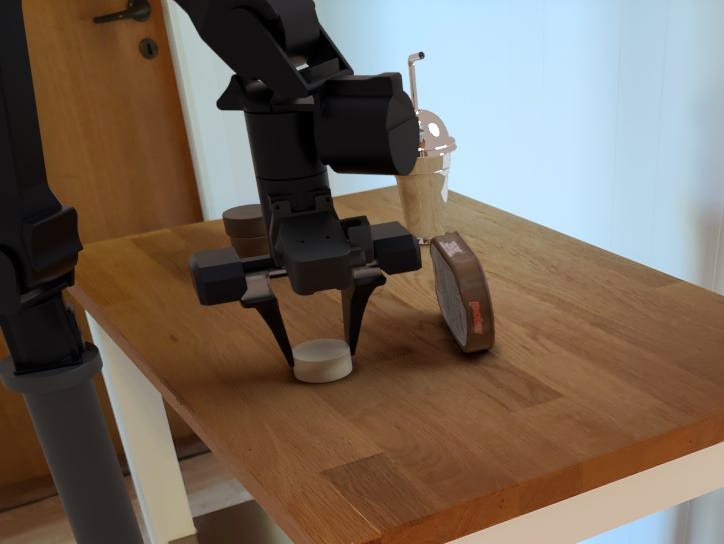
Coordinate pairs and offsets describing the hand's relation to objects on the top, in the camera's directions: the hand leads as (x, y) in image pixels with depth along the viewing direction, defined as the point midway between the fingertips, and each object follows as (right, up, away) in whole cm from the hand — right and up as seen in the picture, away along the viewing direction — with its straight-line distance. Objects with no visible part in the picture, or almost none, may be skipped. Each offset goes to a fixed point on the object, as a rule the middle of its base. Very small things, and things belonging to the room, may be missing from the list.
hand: (321, 360), depth 88 cm
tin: (+13, +4, +5) cm, 14 cm away
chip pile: (-11, +18, +25) cm, 33 cm away
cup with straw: (+8, +23, +30) cm, 39 cm away
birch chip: (0, -1, +1) cm, 1 cm away
